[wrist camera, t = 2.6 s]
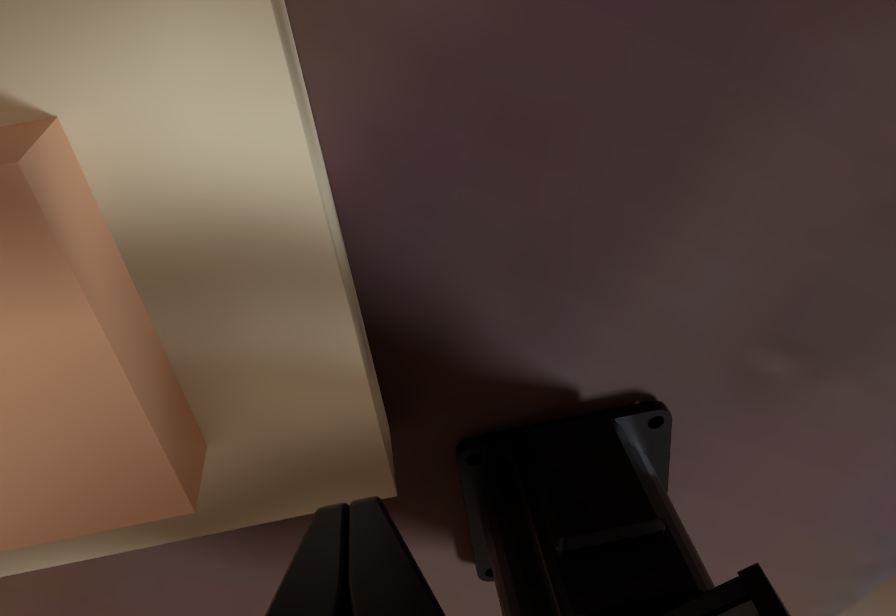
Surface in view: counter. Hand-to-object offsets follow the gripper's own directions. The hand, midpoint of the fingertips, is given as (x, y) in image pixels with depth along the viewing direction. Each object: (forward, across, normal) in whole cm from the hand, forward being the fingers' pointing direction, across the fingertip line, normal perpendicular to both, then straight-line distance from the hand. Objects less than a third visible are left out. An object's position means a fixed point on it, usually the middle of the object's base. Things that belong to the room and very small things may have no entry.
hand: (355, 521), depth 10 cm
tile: (+6, +7, 0) cm, 10 cm away
